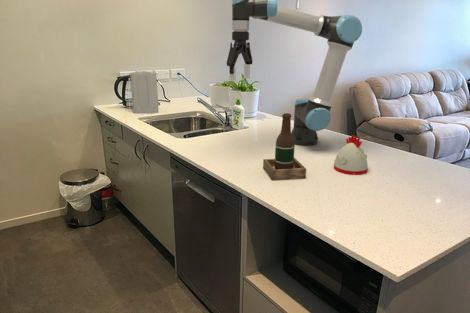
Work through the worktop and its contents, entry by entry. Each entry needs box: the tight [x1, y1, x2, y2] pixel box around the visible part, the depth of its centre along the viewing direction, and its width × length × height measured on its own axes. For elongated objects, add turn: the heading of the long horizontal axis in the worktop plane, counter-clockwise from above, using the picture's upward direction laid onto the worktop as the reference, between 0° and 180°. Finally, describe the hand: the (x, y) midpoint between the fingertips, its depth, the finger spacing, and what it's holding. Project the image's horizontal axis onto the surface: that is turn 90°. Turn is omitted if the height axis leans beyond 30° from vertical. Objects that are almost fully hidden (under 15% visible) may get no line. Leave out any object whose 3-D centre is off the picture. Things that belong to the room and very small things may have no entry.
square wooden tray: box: [262, 157, 307, 181], centre depth 150 cm, size 14×14×4 cm
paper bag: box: [129, 70, 160, 115], centre depth 260 cm, size 19×15×28 cm
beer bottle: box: [274, 112, 296, 170], centre depth 147 cm, size 8×8×24 cm
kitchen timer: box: [333, 134, 369, 176], centre depth 154 cm, size 14×14×15 cm
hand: (239, 79), depth 166 cm, fingers open, 13 cm apart
